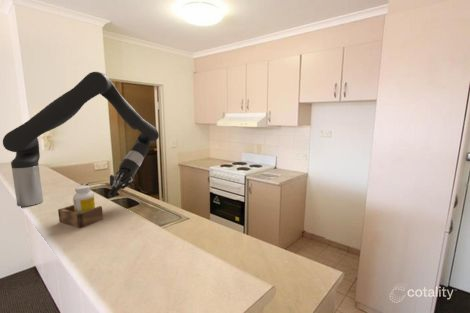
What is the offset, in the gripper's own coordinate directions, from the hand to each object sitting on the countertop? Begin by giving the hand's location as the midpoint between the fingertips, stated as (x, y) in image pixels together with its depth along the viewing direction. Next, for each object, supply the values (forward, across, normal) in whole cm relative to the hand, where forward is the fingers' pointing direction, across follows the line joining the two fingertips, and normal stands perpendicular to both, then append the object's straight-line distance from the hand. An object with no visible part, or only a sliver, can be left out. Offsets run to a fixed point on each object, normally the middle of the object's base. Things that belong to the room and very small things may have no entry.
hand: (110, 196), depth 102 cm
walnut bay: (+13, 0, -5) cm, 14 cm away
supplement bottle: (+12, 0, -4) cm, 13 cm away
